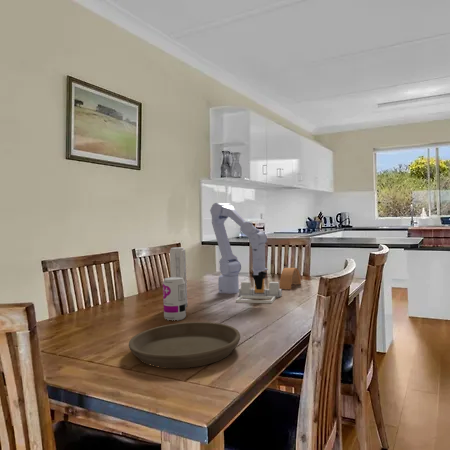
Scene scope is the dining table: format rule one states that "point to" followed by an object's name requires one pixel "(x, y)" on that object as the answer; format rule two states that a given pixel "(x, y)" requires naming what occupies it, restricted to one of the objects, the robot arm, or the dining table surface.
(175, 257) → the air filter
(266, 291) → the fuse block
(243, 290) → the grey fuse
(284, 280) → the arch
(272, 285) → the block
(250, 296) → the tray
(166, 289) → the supplement can
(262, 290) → the block
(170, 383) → the dining table surface
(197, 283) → the dining table surface
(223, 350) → the plant saucer
